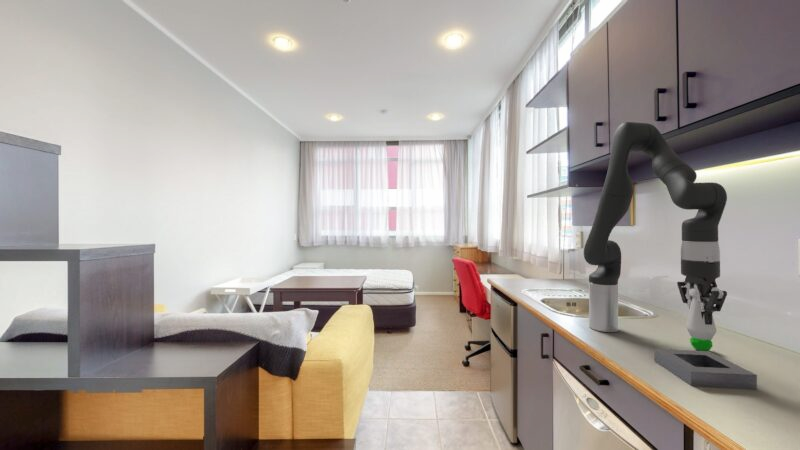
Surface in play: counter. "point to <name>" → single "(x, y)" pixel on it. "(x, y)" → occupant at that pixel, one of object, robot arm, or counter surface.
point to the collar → (705, 369)
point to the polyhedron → (701, 344)
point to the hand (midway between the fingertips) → (700, 323)
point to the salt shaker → (698, 320)
